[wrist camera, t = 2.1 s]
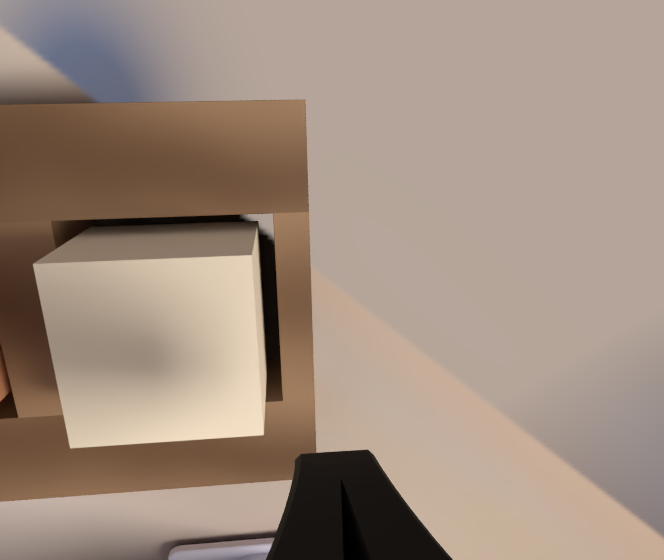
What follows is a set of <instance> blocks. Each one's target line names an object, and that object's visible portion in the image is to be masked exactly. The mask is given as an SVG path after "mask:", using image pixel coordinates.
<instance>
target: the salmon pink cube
mask: <svg viewBox="0 0 664 560" xmlns="http://www.w3.org/2000/svg"><path fill="white" fill-rule="evenodd" d="M11 390H12V388H11V384H10V380H9V375H8V371H7V367H6V363H5V358H4V354H3V350H2V346H1V341H0V401H1V400H2V399H3V398H4V397H5V396H6V395H7V394H8V393H9V392H10V391H11Z"/></svg>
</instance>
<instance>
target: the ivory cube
mask: <svg viewBox="0 0 664 560" xmlns="http://www.w3.org/2000/svg"><path fill="white" fill-rule="evenodd" d="M33 268H34V273H35V277H36V282H37V287H38V292H39V297H40V302H41V307H42V312H43V317H44V322H45V327H46V332H47V337H48V342H49V347H50V351H51V356H52V361H53V366H54V371H55V376H56V381H57V386H58V391H59V396H60V401H61V406H62V411H63V416H64V421H65V426H66V430H67V435H68V440H69V445H70V448H84V447H99V446H113V445H128V444H143V443H157V442H172V441H186V440H201V439H216V438H230V437H245V436H259V435H264V420H265V400H266V380H267V357H266V340H265V324H264V308H263V291H262V275H261V259H260V243H259V226H258V221H247V222H219V223H190V224H162V225H134V226H106V227H89V228H88V229H86V230H85V231H83V232H82V233H80V234H79V235H77V236H75V237H74V238H72V239H71V240H69V241H68V242H66V243H65V244H63V245H62V246H60V247H58V248H57V249H55V250H54V251H52V252H51V253H49V254H48V255H46V256H44V257H43V258H41V259H40V260H38V261H37V262H35V263H34V264H33Z"/></svg>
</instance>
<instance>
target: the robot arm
mask: <svg viewBox="0 0 664 560" xmlns="http://www.w3.org/2000/svg"><path fill="white" fill-rule="evenodd" d="M168 560H453V559H452V558H451V557H450V556H449V555H448V554H447V553H446V551H445V550H444V549H443V548H442V547H441V546H440V544H439V543H438V542H437V541H436V540H435V539H434V537H433V536H432V535H431V534H430V532H429V531H428V530H427V529H426V527H425V526H424V525H423V524H422V522H421V521H420V520H419V519H418V517H417V516H416V515H415V514H414V512H413V511H412V510H411V509H410V507H409V506H408V505H407V503H406V502H405V501H404V499H403V498H402V497H401V495H400V494H399V492H398V491H397V490H396V488H395V487H394V485H393V484H392V483H391V481H390V480H389V478H388V477H387V475H386V474H385V472H384V471H383V469H382V468H381V466H380V465H379V463H378V461H377V460H376V458H375V456H374V455H373V454H372V453H371V452H370V451H369V450H356V451H340V452H323V453H307V454H300V455H299V456H298V457H297V458H296V459H295V468H294V475H293V480H292V485H291V489H290V493H289V496H288V500H287V503H286V507H285V510H284V513H283V515H282V518H281V521H280V524H279V527H278V530H277V532H276V535H275V538H263V539H251V540H239V541H227V542H215V543H203V544H192V545H180V546H176V547H174V548H173V549H171V551H170V552H169V556H168Z"/></svg>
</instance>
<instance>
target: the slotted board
mask: <svg viewBox="0 0 664 560" xmlns="http://www.w3.org/2000/svg"><path fill="white" fill-rule="evenodd" d="M306 141H307V138H306V105H305V100H254V101H198V102H197V101H196V102H142V103H141V102H137V103H76V104H17V105H0V341H1V346H2V350H3V354H4V358H5V363H6V367H7V371H8V375H9V380H10V384H11V388H12V390H11V391H10V392H9V393H8V394H7V395H6V396H5V397H4V398H3V399H2V400H1V401H0V502H2V501H15V500H28V499H42V498H55V497H68V496H81V495H95V494H108V493H121V492H134V491H147V490H161V489H174V488H187V487H200V486H214V485H227V484H240V483H253V482H267V481H280V480H293V475H294V468H295V459H296V458H297V457H298V456H299V455H300V454H307V453H316V431H315V398H314V366H313V333H312V301H311V268H310V236H309V204H308V171H307V142H306ZM266 213H273V220H274V240H275V259H276V278H277V297H278V316H279V336H280V355H281V358H277V359H267V380H266V400H265V420H264V435H259V436H245V437H230V438H216V439H201V440H186V441H172V442H157V443H143V444H128V445H113V446H99V447H84V448H70V445H69V440H68V435H67V430H66V426H65V421H64V416H63V411H62V406H61V401H60V396H59V391H58V386H57V381H56V376H55V371H54V366H53V361H52V356H51V351H50V347H49V342H48V337H47V332H46V327H45V322H44V317H43V312H42V307H41V302H40V297H39V292H38V287H37V282H36V277H35V273H34V268H33V264H34V263H35V262H37V261H38V260H40V259H41V258H43V257H44V256H46V255H48V254H49V253H51V252H52V251H54V250H55V249H57V248H58V247H60V246H62V245H63V244H65V243H66V242H68V241H69V240H71V239H72V238H74V237H75V236H77V235H79V234H80V233H82V232H83V231H85V230H86V229H88V228H89V227H92V221H91V220H92V219H121V218H150V217H179V216H208V215H238V214H266Z"/></svg>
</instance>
